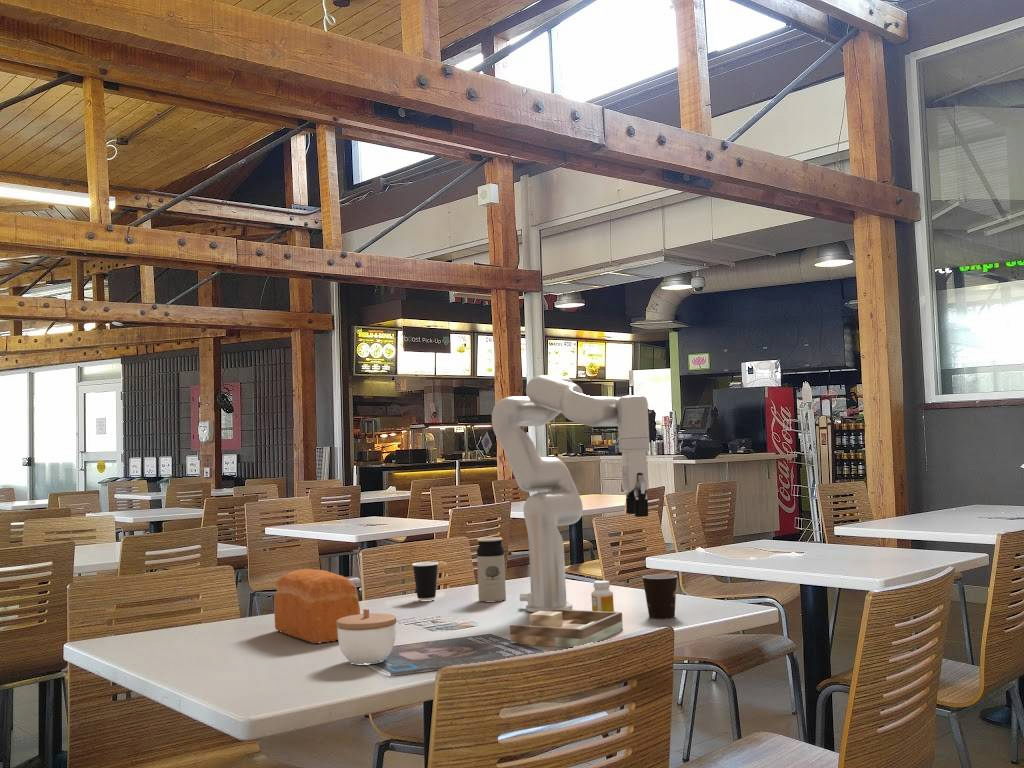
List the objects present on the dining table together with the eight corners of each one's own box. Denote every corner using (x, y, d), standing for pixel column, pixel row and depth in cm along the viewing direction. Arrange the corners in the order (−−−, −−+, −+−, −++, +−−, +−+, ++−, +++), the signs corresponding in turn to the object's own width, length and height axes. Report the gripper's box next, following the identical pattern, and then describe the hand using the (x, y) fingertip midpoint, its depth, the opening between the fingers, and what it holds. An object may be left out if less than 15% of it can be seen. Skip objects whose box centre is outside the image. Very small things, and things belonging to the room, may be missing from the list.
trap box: (510, 643, 210) (509, 625, 210) (555, 625, 229) (554, 609, 229) (582, 648, 201) (581, 629, 201) (622, 629, 220) (621, 612, 220)
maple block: (530, 627, 217) (529, 614, 217) (540, 623, 221) (539, 610, 221) (553, 628, 214) (552, 615, 214) (562, 624, 218) (562, 612, 218)
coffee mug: (669, 620, 228) (666, 579, 229) (638, 618, 234) (636, 578, 234) (690, 613, 238) (688, 573, 238) (660, 610, 243) (658, 572, 244)
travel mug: (481, 598, 277) (478, 537, 278) (507, 597, 276) (505, 536, 277) (476, 603, 269) (474, 540, 270) (503, 602, 268) (501, 539, 269)
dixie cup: (445, 599, 278) (443, 562, 279) (424, 603, 272) (423, 565, 273) (428, 597, 284) (427, 561, 284) (407, 601, 278) (406, 564, 279)
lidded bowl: (402, 664, 193) (400, 611, 194) (340, 671, 189) (339, 616, 190) (392, 653, 205) (390, 602, 206) (334, 659, 201) (333, 607, 202)
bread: (321, 624, 246) (319, 563, 247) (365, 637, 225) (362, 571, 226) (270, 631, 238) (269, 569, 239) (311, 646, 217) (309, 577, 218)
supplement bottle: (617, 619, 233) (615, 580, 234) (610, 623, 228) (608, 583, 229) (597, 618, 236) (595, 579, 236) (589, 622, 231) (587, 583, 231)
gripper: (612, 446, 238) (615, 513, 237) (626, 446, 221) (629, 518, 220) (641, 445, 239) (644, 512, 238) (657, 444, 222) (660, 517, 221)
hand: (637, 515), depth 229 cm, fingers open, 9 cm apart
